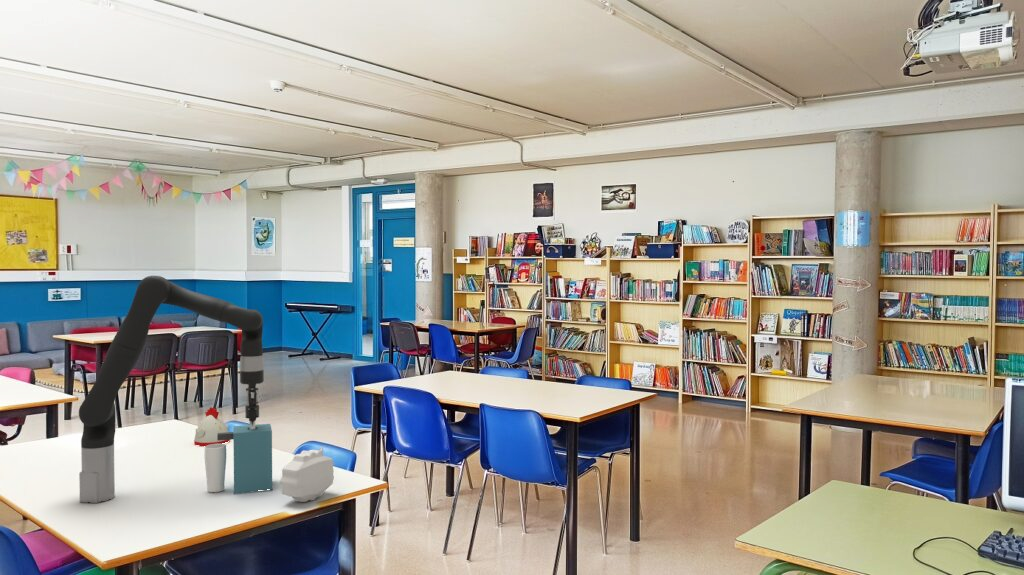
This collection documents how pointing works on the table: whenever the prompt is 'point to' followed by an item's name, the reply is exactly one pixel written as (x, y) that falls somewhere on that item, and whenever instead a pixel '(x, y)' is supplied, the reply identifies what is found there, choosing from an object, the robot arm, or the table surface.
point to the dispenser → (251, 457)
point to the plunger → (252, 423)
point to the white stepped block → (307, 475)
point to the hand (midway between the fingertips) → (252, 419)
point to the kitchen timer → (210, 429)
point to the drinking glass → (215, 466)
